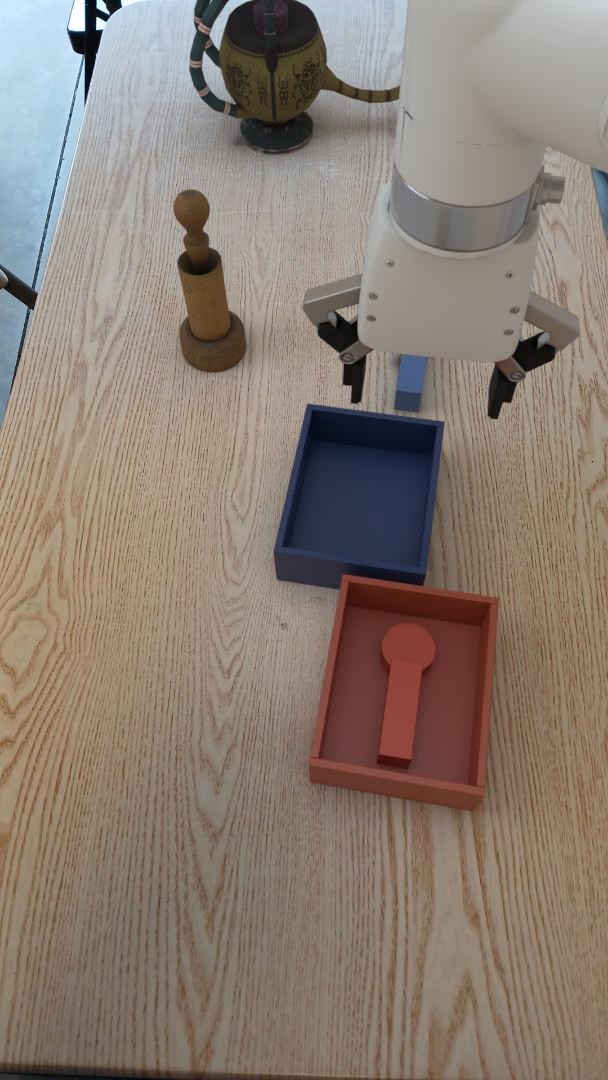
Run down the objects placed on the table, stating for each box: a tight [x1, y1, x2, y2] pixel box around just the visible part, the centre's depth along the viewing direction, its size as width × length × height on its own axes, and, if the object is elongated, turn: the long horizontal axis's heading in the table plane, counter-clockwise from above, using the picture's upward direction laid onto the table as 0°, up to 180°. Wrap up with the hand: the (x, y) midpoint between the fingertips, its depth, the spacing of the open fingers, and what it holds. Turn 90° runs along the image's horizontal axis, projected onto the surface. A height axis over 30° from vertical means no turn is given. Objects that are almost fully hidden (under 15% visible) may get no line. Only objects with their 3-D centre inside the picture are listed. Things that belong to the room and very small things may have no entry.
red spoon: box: [377, 623, 436, 769], centre depth 64 cm, size 11×4×3 cm, turn 170°
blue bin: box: [273, 403, 446, 590], centre depth 71 cm, size 15×12×5 cm
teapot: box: [188, 0, 400, 156], centre depth 90 cm, size 12×25×23 cm, turn 91°
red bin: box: [308, 574, 500, 812], centre depth 63 cm, size 15×12×5 cm
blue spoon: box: [393, 354, 428, 413], centre depth 81 cm, size 11×4×3 cm, turn 170°
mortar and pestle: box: [172, 188, 247, 373], centre depth 76 cm, size 7×6×18 cm
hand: (425, 395), depth 59 cm, fingers open, 9 cm apart
